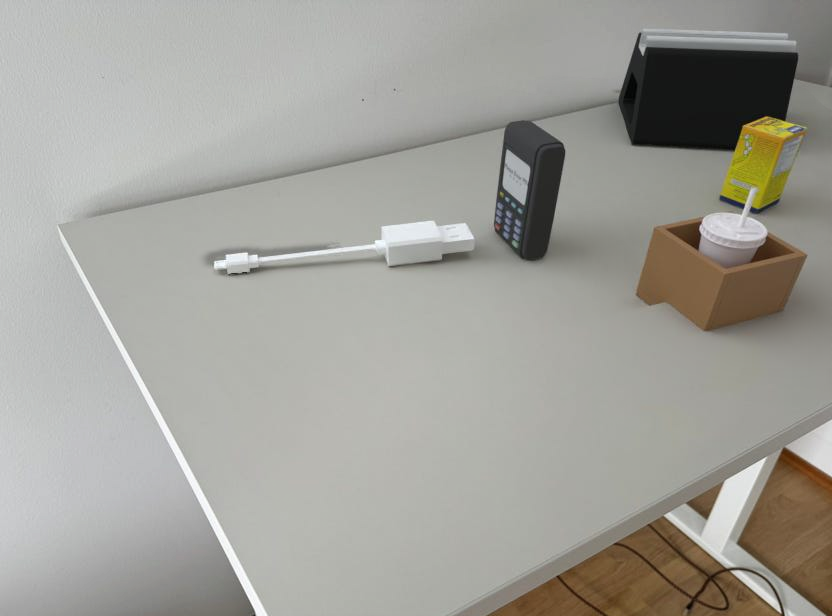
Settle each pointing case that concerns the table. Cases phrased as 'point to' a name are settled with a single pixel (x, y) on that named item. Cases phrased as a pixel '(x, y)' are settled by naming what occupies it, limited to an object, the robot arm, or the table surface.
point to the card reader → (528, 188)
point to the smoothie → (732, 236)
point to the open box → (716, 277)
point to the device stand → (705, 85)
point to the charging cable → (379, 247)
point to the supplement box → (762, 163)
